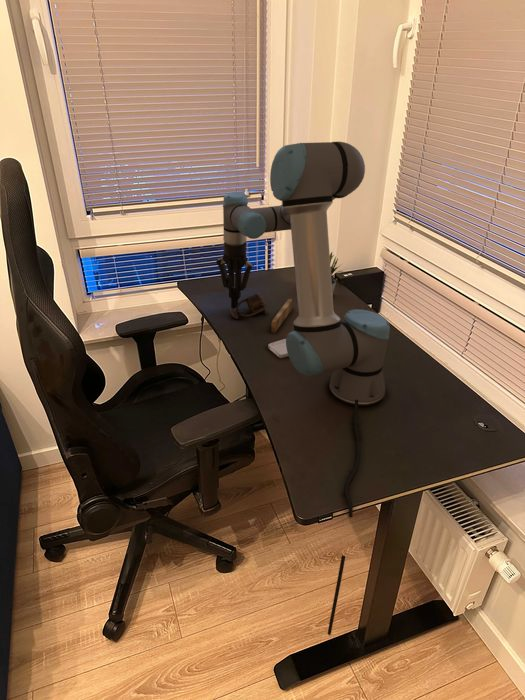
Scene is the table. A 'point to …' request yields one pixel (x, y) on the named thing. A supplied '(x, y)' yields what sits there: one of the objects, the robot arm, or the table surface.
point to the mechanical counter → (250, 306)
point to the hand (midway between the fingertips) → (234, 306)
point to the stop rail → (281, 316)
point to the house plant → (333, 271)
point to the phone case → (279, 348)
